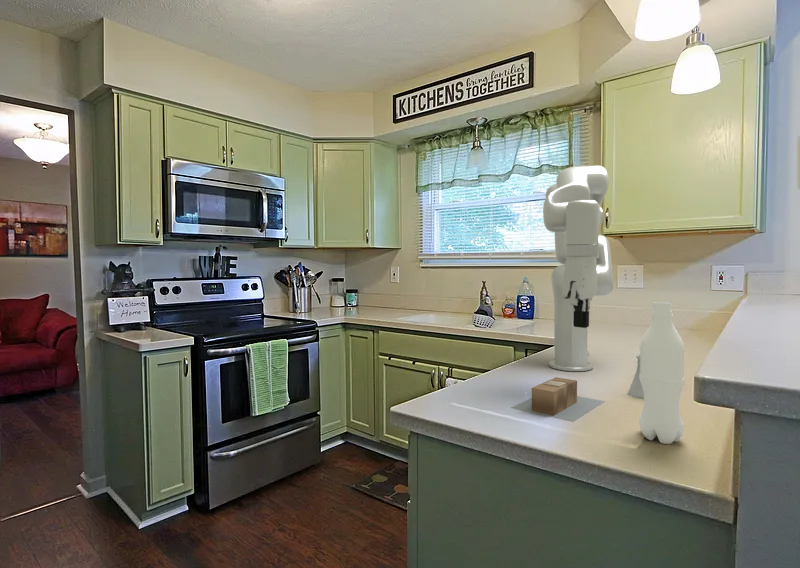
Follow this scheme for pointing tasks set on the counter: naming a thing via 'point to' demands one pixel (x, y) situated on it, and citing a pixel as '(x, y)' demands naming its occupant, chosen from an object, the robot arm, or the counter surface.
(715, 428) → the counter surface
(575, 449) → the counter surface
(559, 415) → the mat
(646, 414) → the water bottle
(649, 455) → the counter surface
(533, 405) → the cardboard box
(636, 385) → the flask
